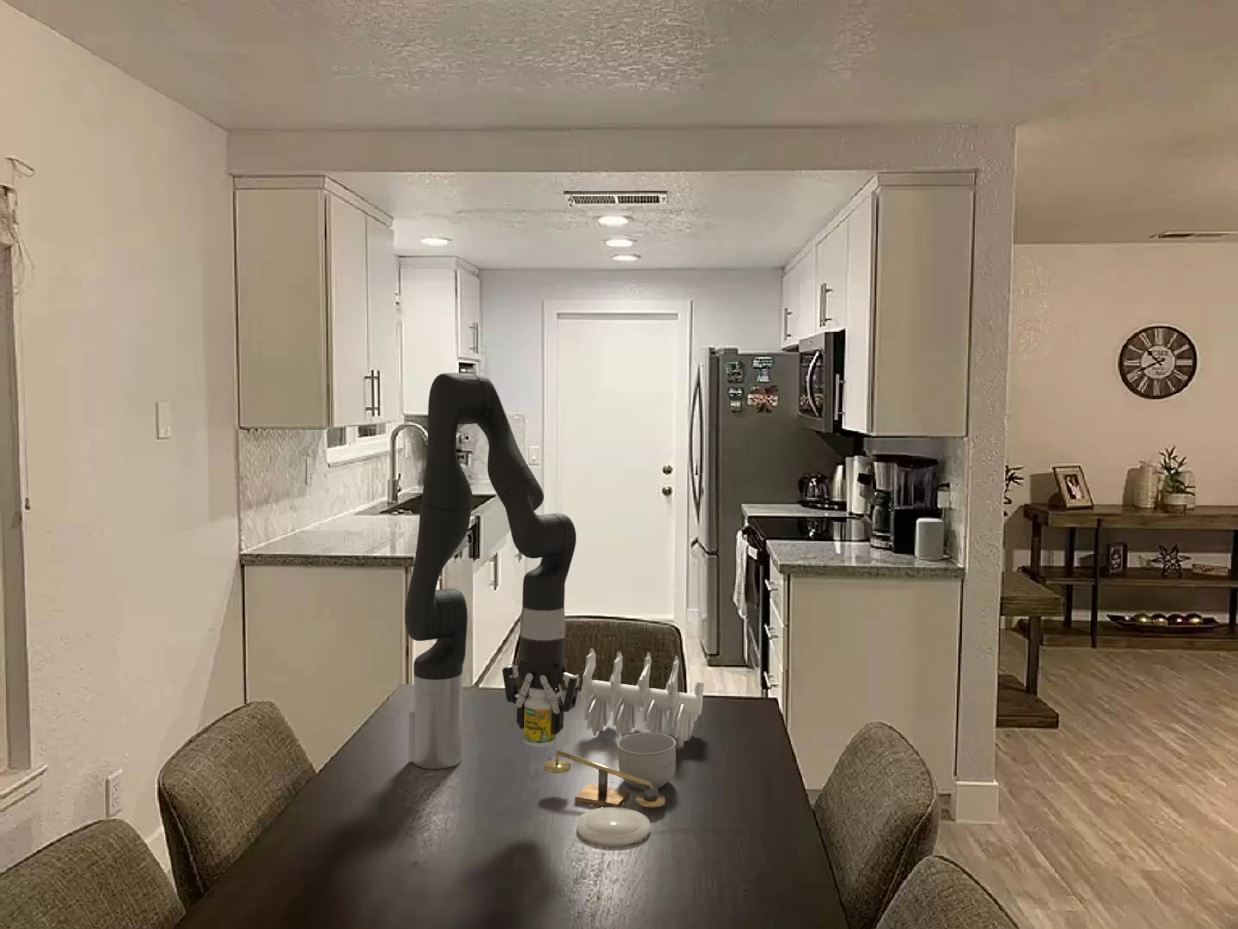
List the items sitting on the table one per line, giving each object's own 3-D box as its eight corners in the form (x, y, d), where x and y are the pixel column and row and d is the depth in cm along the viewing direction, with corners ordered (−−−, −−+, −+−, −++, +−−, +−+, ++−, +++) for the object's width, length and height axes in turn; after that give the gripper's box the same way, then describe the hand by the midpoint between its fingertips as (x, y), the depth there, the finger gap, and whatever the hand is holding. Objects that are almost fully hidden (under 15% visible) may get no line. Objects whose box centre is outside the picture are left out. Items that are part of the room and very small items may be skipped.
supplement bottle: (559, 738, 171) (561, 684, 170) (548, 749, 166) (550, 693, 165) (530, 734, 173) (532, 680, 172) (518, 745, 168) (520, 689, 167)
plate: (564, 838, 161) (564, 829, 161) (593, 809, 172) (593, 801, 172) (634, 852, 156) (634, 843, 156) (659, 821, 168) (659, 814, 168)
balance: (536, 796, 177) (537, 753, 176) (551, 783, 183) (551, 742, 182) (658, 818, 169) (659, 773, 168) (669, 805, 174) (670, 761, 174)
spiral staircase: (693, 769, 202) (574, 750, 207) (707, 708, 216) (595, 692, 222) (693, 701, 193) (568, 683, 198) (708, 643, 207) (592, 627, 213)
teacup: (670, 798, 177) (671, 754, 177) (610, 792, 180) (611, 748, 179) (681, 769, 191) (682, 728, 190) (625, 763, 193) (626, 723, 193)
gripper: (493, 632, 167) (491, 730, 168) (572, 643, 162) (569, 745, 163) (514, 622, 174) (512, 717, 175) (590, 632, 169) (587, 730, 170)
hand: (539, 730), depth 169 cm, fingers closed on supplement bottle, 5 cm apart
